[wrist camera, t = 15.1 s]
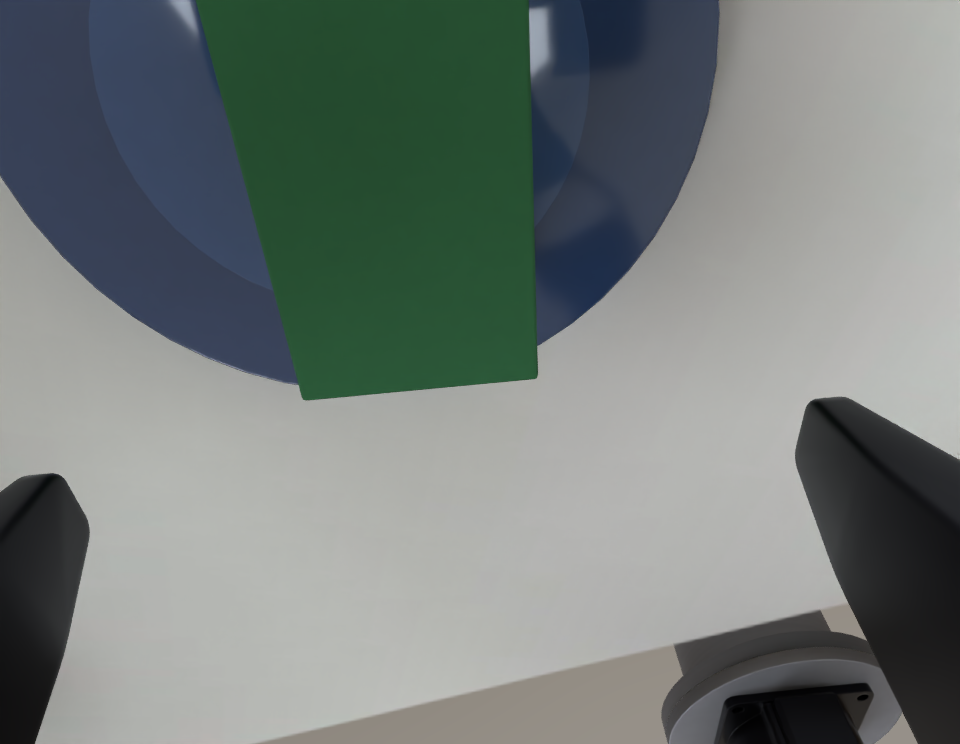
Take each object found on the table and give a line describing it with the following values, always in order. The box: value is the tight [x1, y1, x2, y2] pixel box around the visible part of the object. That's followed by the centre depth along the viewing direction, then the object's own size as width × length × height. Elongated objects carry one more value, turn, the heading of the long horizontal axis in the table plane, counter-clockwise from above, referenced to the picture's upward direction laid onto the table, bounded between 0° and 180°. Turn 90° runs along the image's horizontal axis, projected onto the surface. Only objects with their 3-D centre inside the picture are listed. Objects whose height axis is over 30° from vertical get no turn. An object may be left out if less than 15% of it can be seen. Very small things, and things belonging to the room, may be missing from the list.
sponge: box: [196, 0, 538, 400], centre depth 15 cm, size 8×5×4 cm, turn 4°
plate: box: [0, 0, 720, 385], centre depth 16 cm, size 16×16×1 cm
